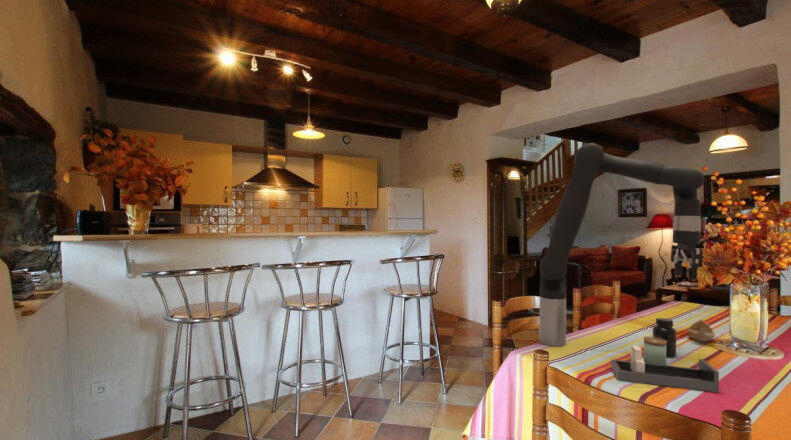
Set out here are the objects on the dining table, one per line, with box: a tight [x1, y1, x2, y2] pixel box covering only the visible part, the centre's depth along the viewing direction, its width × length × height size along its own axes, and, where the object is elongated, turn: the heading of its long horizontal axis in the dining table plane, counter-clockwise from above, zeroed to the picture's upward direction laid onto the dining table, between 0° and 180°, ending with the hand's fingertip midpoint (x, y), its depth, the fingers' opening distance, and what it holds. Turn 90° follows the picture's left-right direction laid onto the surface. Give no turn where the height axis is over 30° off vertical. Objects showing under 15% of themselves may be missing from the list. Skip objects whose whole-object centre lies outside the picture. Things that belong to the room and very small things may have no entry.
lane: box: [610, 358, 720, 393], centre depth 113 cm, size 24×10×6 cm, turn 71°
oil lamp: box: [686, 319, 716, 343], centre depth 151 cm, size 9×21×10 cm, turn 143°
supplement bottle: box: [652, 317, 677, 358], centre depth 134 cm, size 7×7×12 cm
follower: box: [629, 345, 645, 373], centre depth 115 cm, size 2×7×8 cm, turn 161°
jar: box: [643, 336, 667, 365], centre depth 125 cm, size 6×6×8 cm
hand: (685, 277), depth 130 cm, fingers open, 8 cm apart
